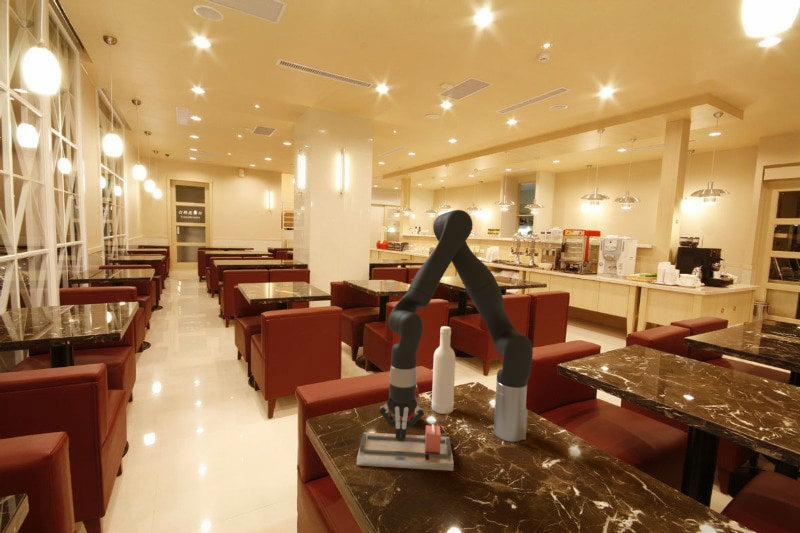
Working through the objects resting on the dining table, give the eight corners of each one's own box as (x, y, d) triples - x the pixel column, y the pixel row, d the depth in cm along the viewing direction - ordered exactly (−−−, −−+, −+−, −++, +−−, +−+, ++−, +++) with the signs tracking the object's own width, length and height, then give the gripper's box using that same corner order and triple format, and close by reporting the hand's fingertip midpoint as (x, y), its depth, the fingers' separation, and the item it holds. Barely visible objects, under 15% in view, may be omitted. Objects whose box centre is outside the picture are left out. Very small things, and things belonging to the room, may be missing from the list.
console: (449, 443, 112) (449, 431, 112) (453, 470, 99) (453, 457, 99) (363, 438, 113) (363, 427, 113) (356, 465, 100) (356, 452, 100)
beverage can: (416, 425, 122) (417, 390, 121) (397, 423, 123) (398, 388, 122) (419, 416, 128) (420, 382, 127) (401, 414, 129) (402, 380, 128)
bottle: (458, 410, 133) (461, 328, 130) (441, 416, 128) (444, 331, 126) (443, 402, 139) (446, 323, 137) (426, 407, 135) (429, 326, 132)
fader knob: (439, 442, 108) (439, 424, 107) (440, 452, 103) (440, 433, 102) (425, 441, 108) (425, 423, 108) (425, 451, 103) (426, 432, 103)
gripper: (426, 376, 107) (423, 434, 109) (380, 374, 108) (378, 431, 109) (427, 387, 100) (424, 448, 102) (378, 384, 100) (376, 445, 102)
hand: (400, 439), depth 106 cm, fingers closed
